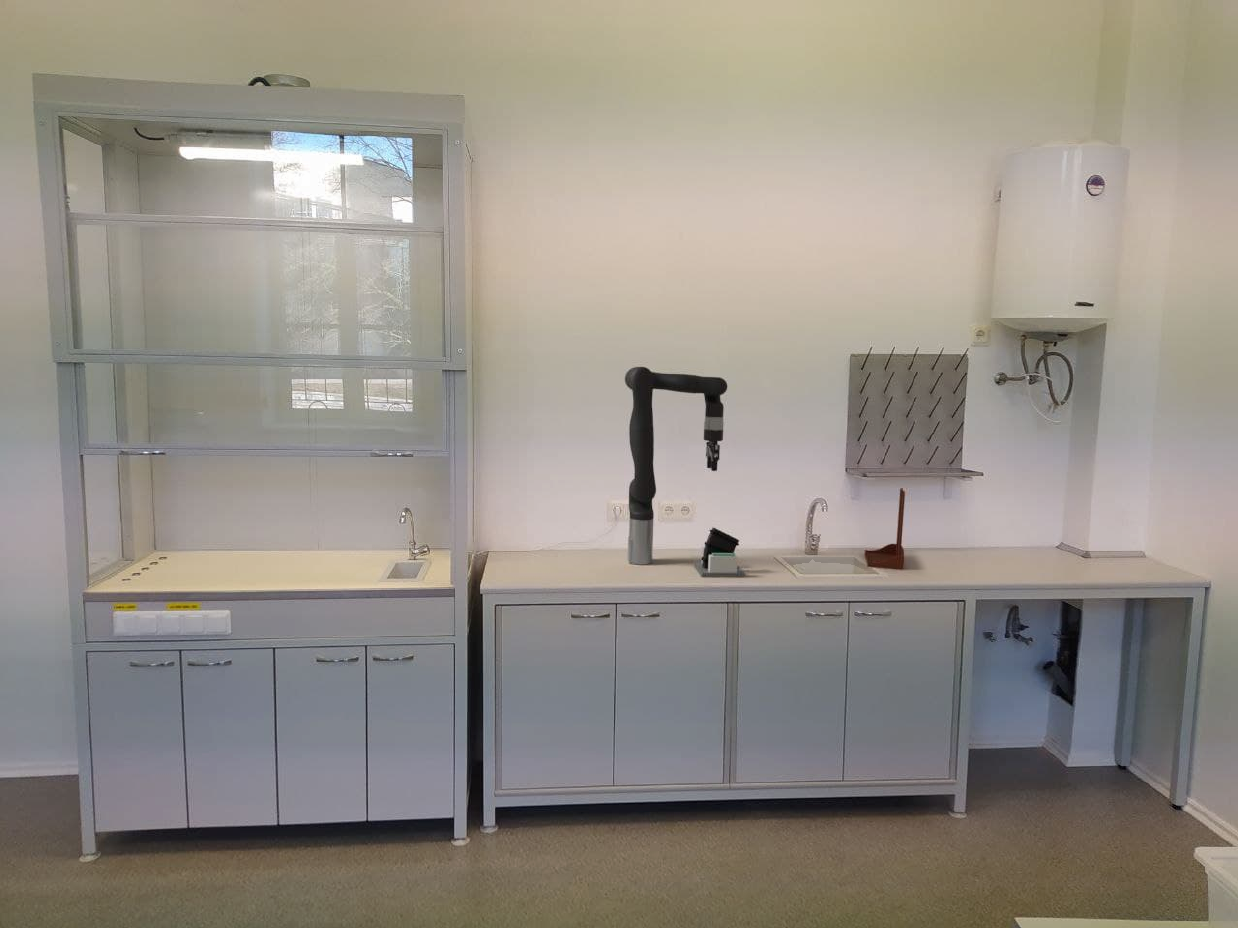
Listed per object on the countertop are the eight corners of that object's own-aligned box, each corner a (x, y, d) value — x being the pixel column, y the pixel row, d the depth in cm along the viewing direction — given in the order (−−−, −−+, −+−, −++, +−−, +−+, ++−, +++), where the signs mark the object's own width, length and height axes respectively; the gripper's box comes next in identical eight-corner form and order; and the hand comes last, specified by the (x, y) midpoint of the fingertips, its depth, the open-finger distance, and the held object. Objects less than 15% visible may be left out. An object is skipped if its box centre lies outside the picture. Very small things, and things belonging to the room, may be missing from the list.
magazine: (693, 562, 288) (711, 526, 287) (723, 576, 290) (741, 541, 290) (696, 564, 284) (714, 528, 284) (726, 579, 287) (744, 543, 286)
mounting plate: (701, 577, 279) (702, 554, 278) (693, 565, 295) (694, 544, 295) (745, 577, 280) (746, 555, 279) (734, 565, 297) (735, 544, 296)
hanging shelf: (864, 554, 325) (869, 483, 321) (897, 556, 321) (902, 485, 318) (867, 567, 301) (872, 491, 298) (903, 570, 298) (908, 493, 295)
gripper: (700, 427, 308) (699, 467, 310) (707, 429, 294) (706, 471, 296) (719, 427, 309) (717, 467, 310) (727, 429, 294) (725, 471, 296)
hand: (711, 469), depth 303 cm, fingers open, 8 cm apart
